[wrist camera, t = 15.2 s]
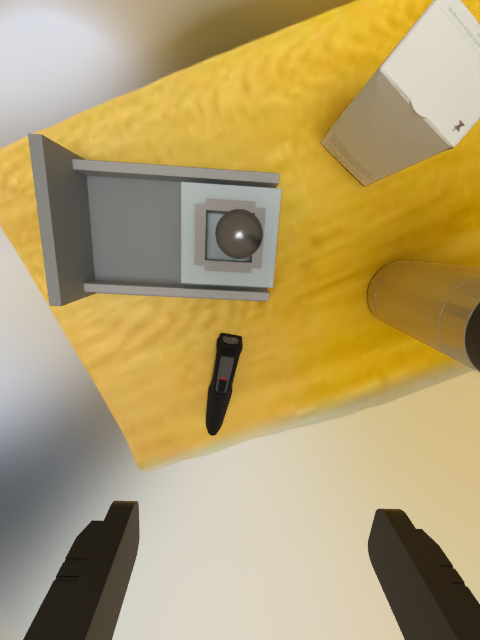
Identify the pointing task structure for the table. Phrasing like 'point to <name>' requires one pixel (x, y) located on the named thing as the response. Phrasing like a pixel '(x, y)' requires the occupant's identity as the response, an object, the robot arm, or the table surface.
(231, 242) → the handle peg
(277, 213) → the square socket block
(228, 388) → the electric trimmer
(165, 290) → the bay
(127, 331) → the table surface
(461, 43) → the skincare box
